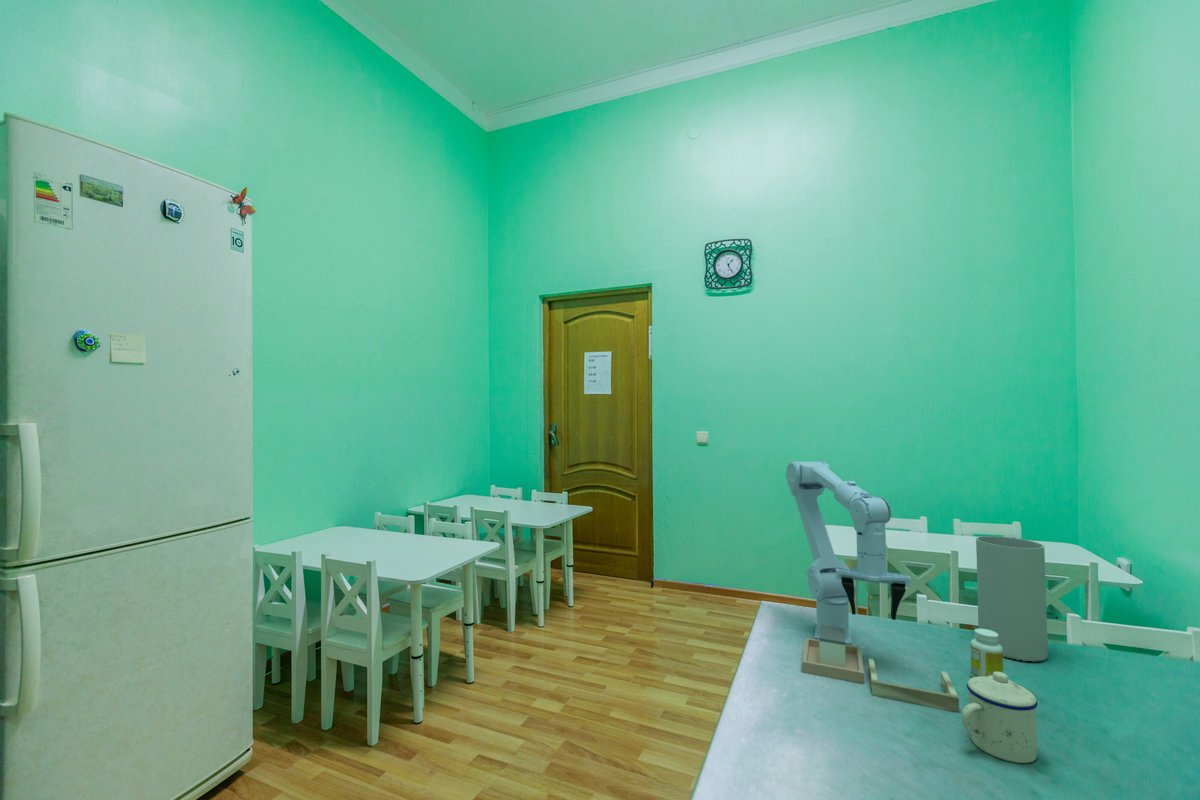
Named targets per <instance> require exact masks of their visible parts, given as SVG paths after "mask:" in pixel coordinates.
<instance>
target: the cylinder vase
mask: <svg viewBox="0 0 1200 800" xmlns="http://www.w3.org/2000/svg"><path fill="white" fill-rule="evenodd" d="M975 542H976V543H975V545H976V546H975V547H976V549H975V550H976V579H977V581H976V584H977V585H976V586H977V615H978V616H977V622H978V624H977V625H978V628H977V629H987V630H991V631H994V632H996V633H997V634H998V635H999V641H998V642H997V643H998V644H1000V645H1001V647H1002V648H1003V658H1005V657H1006V658H1007V659H1009V658H1010V660H1013V659H1016V660H1015V661H1019V660H1022V661H1021V662H1026V661H1032V662H1031V663H1036V662H1037V661H1039V662H1043V661H1045V660H1047V658H1048V655H1049V654H1048V653H1049V652H1048V651H1049V650H1048V645H1049V644H1048V623H1047V622H1048V621H1047V620H1048V619H1047V616H1048V615H1047V614H1048V613H1047V591H1046V588H1047V587H1046V586H1047V585H1046V558H1045V545H1044V544H1042V543H1039V542H1037V541H1032V540H1028V539H1022V538H1015V537H1006V536H996V535H995V536H994V535H993V536H991V535H989V536H987V535H985V536H984V535H983V536H977V537H976V538H975ZM1006 658H1005V659H1006ZM1037 663H1038V662H1037Z"/></svg>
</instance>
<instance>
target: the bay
mask: <svg viewBox="0 0 1200 800" xmlns="http://www.w3.org/2000/svg"><path fill="white" fill-rule="evenodd" d="M876 670H877V669H876V664H875V659H873V658H868V675H869V681H870V682H869V683H870V689H871V696H875V697H880V698H884V699H885V698H886V699H890V700H896V701H901V702H905V703H910V704H914V705H915V704H916V705H921V706H926V707H931V708H936V709H941V710H945V711H949V712H950V711H951V712H954V713H955V712H957V713H960V699H959V698H960V697H959V696H958V694H957V691H956V689H955V687H954V684H953V683H952V680H951V678H950V676H949V674H948V672H947V671H944V670H940V685H941V687H942V689H943V691H944V692H942V691H935V690H928V689H924V688H918V687H913V686H909V685H908V686H907V685H902V684H899V683H891V682H886V681H881V680H878V674H877V671H876Z"/></svg>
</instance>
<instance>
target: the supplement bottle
mask: <svg viewBox="0 0 1200 800" xmlns="http://www.w3.org/2000/svg"><path fill="white" fill-rule="evenodd" d="M973 634H974V638H973V639H971V641H970V675H971V678H973V677H979V676H984V677H987V676H993V673H994V672H1002V673H1004V657H1003V648H1002V647H1001V645H1000V644H998V643H997V642H998V641H999V635H998V634H997V633H996V632H994V631H991V630H987V629H978V628H975V629H974V633H973Z"/></svg>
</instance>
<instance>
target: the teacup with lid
mask: <svg viewBox="0 0 1200 800" xmlns="http://www.w3.org/2000/svg"><path fill="white" fill-rule="evenodd" d="M966 688H967V690H968V704H966V705H965V706H964V707H963V709H962V711H961V717H960V718H961V723H962V726H963V728H964V729H965V731H966V732H967V733H968V734H969V738H970V740H971V741H972V743H973V744H974V745H975V746H976V747H977V748H978V749H980V750H982V751H983V752H985V753H986V754H988V755H990V756H992V757H996V758H997V759H1001V760H1003V761H1007V762H1012V763H1018V764H1027V763H1029V764H1030V763H1032V762H1034V761H1035V760H1037V757H1038V744H1037V743H1038V742H1037V740H1038V739H1037V712H1036V711H1037V710H1036V708H1037V707H1038V701H1037V699H1036V697H1035V695H1034V694H1033V693H1032V692H1031V691H1030V690H1028V689H1027V688H1026V687H1023V686H1022V685H1019V684H1017V683H1015V682H1014V681H1012V680H1010V679H1009V676H1008V674H1006V673H1004V672H1003V673H1002V672H994V673H993V676H987V677H984V676H979V677H971V678H970V679H968V681H967V683H966Z"/></svg>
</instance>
